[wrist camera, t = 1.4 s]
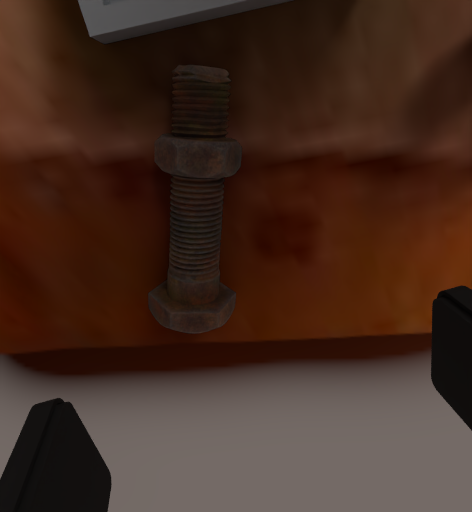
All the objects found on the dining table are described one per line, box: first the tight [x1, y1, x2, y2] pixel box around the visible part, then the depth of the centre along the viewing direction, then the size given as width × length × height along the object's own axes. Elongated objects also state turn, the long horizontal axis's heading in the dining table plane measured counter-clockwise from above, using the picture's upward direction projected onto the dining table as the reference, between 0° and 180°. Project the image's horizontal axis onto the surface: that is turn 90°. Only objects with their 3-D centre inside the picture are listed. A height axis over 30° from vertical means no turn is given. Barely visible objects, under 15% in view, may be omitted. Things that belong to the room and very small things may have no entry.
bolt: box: [148, 65, 242, 334], centre depth 23 cm, size 6×5×15 cm
